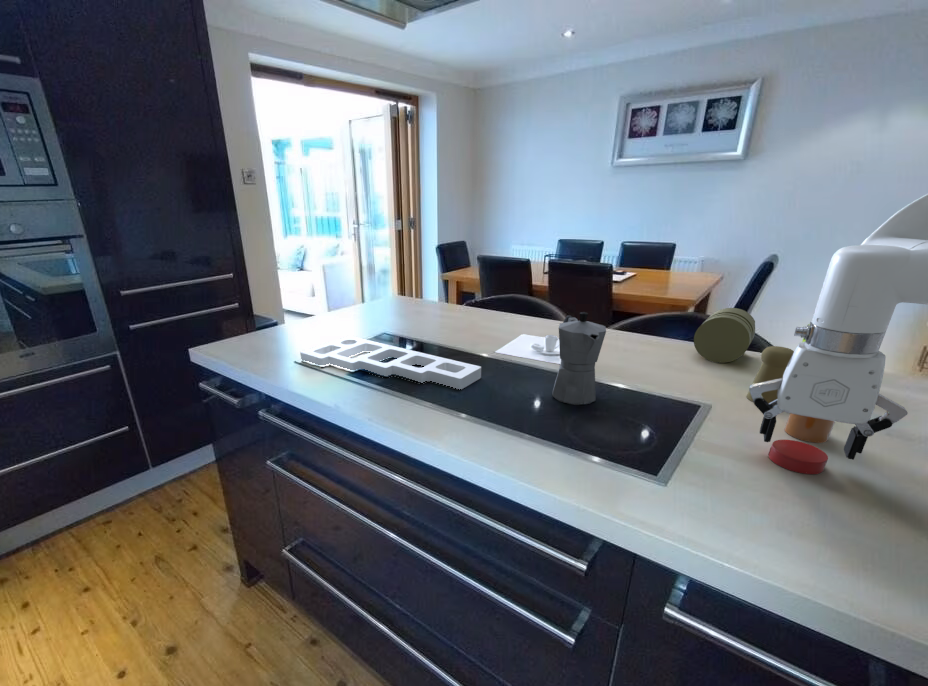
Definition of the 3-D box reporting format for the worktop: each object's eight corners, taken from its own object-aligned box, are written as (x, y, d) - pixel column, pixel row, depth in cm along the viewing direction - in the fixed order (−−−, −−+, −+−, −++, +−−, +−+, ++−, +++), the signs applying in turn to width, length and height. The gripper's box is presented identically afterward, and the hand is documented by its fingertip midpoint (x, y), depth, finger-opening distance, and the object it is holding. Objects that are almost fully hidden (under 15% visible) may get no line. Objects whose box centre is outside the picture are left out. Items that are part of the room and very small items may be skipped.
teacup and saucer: (527, 352, 119) (528, 337, 117) (537, 344, 125) (539, 330, 123) (559, 357, 114) (561, 342, 113) (568, 349, 120) (570, 335, 119)
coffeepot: (609, 408, 87) (624, 319, 80) (562, 410, 86) (572, 321, 79) (579, 379, 101) (589, 301, 94) (538, 381, 101) (545, 303, 94)
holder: (481, 377, 103) (482, 366, 102) (436, 404, 91) (435, 392, 90) (350, 344, 130) (349, 335, 129) (300, 361, 117) (299, 352, 116)
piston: (749, 354, 113) (762, 311, 109) (742, 367, 105) (755, 321, 101) (699, 345, 120) (709, 305, 116) (689, 357, 112) (699, 314, 108)
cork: (788, 407, 85) (806, 354, 81) (751, 403, 87) (767, 351, 83) (777, 395, 90) (793, 344, 86) (742, 392, 92) (757, 342, 88)
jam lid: (768, 465, 68) (772, 453, 67) (767, 446, 73) (770, 435, 72) (826, 479, 64) (831, 467, 63) (820, 458, 69) (825, 446, 68)
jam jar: (821, 429, 77) (840, 378, 73) (833, 445, 72) (855, 391, 69) (780, 424, 79) (797, 373, 76) (789, 439, 75) (808, 386, 71)
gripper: (765, 338, 62) (736, 442, 69) (943, 357, 53) (890, 475, 60) (763, 325, 68) (737, 423, 75) (925, 340, 59) (878, 450, 65)
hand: (805, 446), depth 67 cm, fingers open, 9 cm apart
